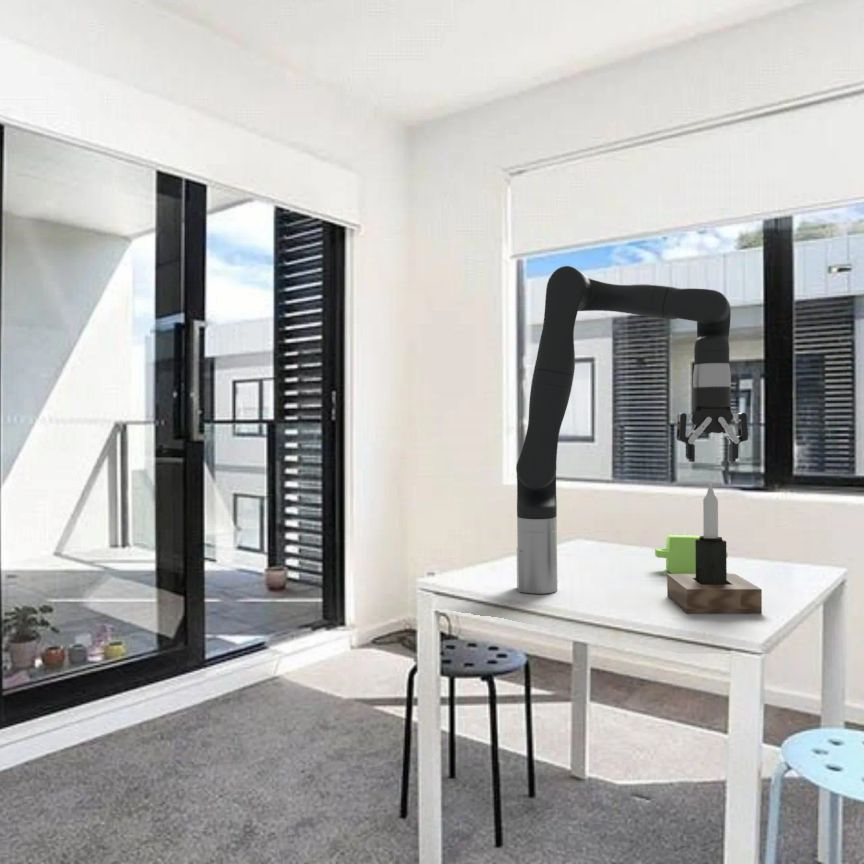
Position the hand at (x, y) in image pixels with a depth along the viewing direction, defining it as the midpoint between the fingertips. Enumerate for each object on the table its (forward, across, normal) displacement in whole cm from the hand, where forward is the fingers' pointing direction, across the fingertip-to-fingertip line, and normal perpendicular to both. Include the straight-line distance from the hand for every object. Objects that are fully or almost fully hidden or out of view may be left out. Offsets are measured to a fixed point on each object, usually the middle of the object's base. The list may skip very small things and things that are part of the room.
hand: (712, 461), depth 158 cm
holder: (+31, 0, 0) cm, 31 cm away
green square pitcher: (+31, +6, +34) cm, 46 cm away
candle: (+30, 0, 0) cm, 30 cm away
